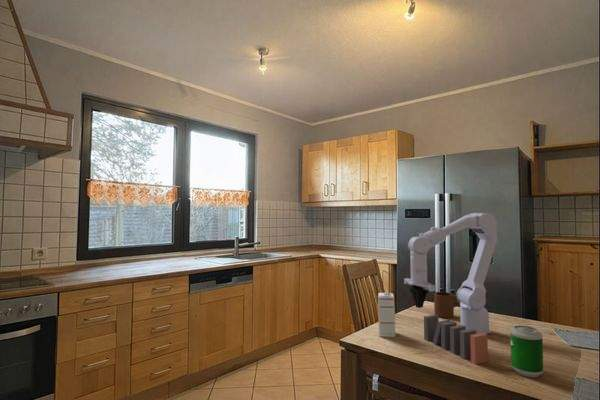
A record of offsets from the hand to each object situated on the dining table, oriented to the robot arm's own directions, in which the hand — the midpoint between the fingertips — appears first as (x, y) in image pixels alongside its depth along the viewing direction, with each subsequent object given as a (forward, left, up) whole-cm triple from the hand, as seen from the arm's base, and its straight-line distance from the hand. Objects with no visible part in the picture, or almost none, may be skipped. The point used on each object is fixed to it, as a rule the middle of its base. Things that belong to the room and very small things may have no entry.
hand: (419, 307), depth 130 cm
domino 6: (0, +26, -10) cm, 28 cm away
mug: (-26, -12, -10) cm, 30 cm away
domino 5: (0, +22, -10) cm, 24 cm away
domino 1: (0, +6, -10) cm, 11 cm away
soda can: (-7, +36, -10) cm, 38 cm away
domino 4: (0, +18, -10) cm, 20 cm away
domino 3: (0, +14, -10) cm, 17 cm away
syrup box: (+11, -4, -10) cm, 16 cm away
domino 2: (0, +10, -9) cm, 14 cm away
